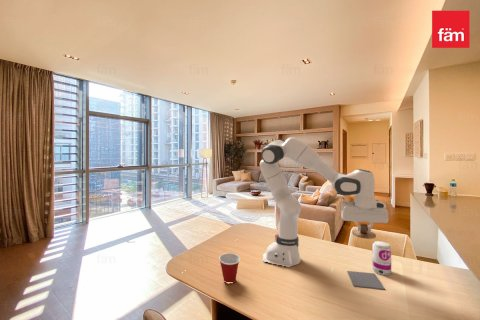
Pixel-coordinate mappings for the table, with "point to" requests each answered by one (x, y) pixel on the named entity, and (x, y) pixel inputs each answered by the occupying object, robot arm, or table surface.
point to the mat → (365, 280)
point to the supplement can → (381, 257)
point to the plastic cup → (229, 266)
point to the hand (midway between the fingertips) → (363, 230)
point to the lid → (364, 232)
